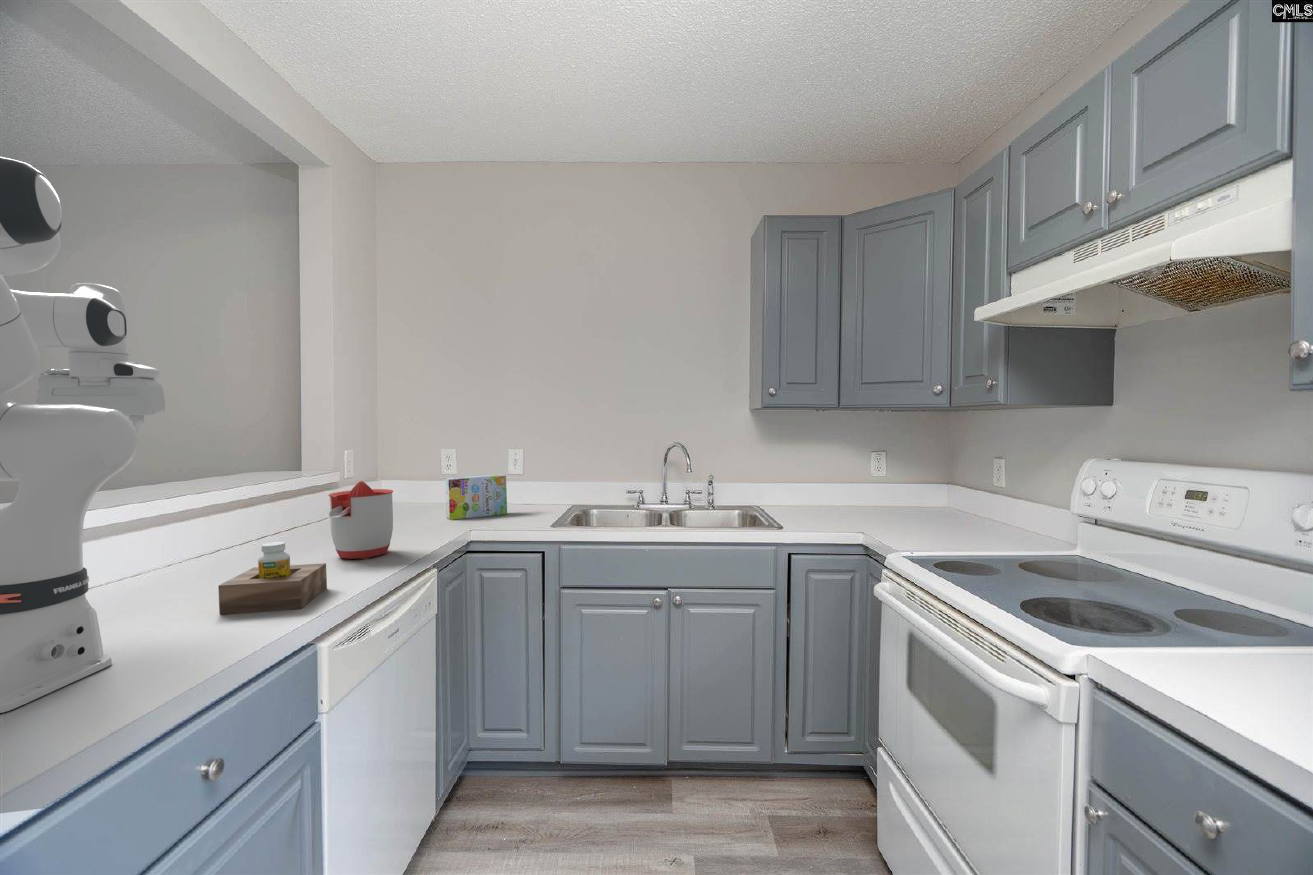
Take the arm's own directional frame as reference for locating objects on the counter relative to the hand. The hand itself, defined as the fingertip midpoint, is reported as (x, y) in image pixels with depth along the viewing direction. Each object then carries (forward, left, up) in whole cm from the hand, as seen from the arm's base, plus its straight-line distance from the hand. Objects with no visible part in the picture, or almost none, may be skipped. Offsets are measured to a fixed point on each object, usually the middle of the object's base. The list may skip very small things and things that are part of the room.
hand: (103, 439), depth 117 cm
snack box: (+93, -61, -33) cm, 116 cm away
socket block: (-5, -32, -33) cm, 46 cm away
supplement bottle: (-5, -32, -31) cm, 45 cm away
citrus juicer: (+34, -37, -33) cm, 60 cm away
